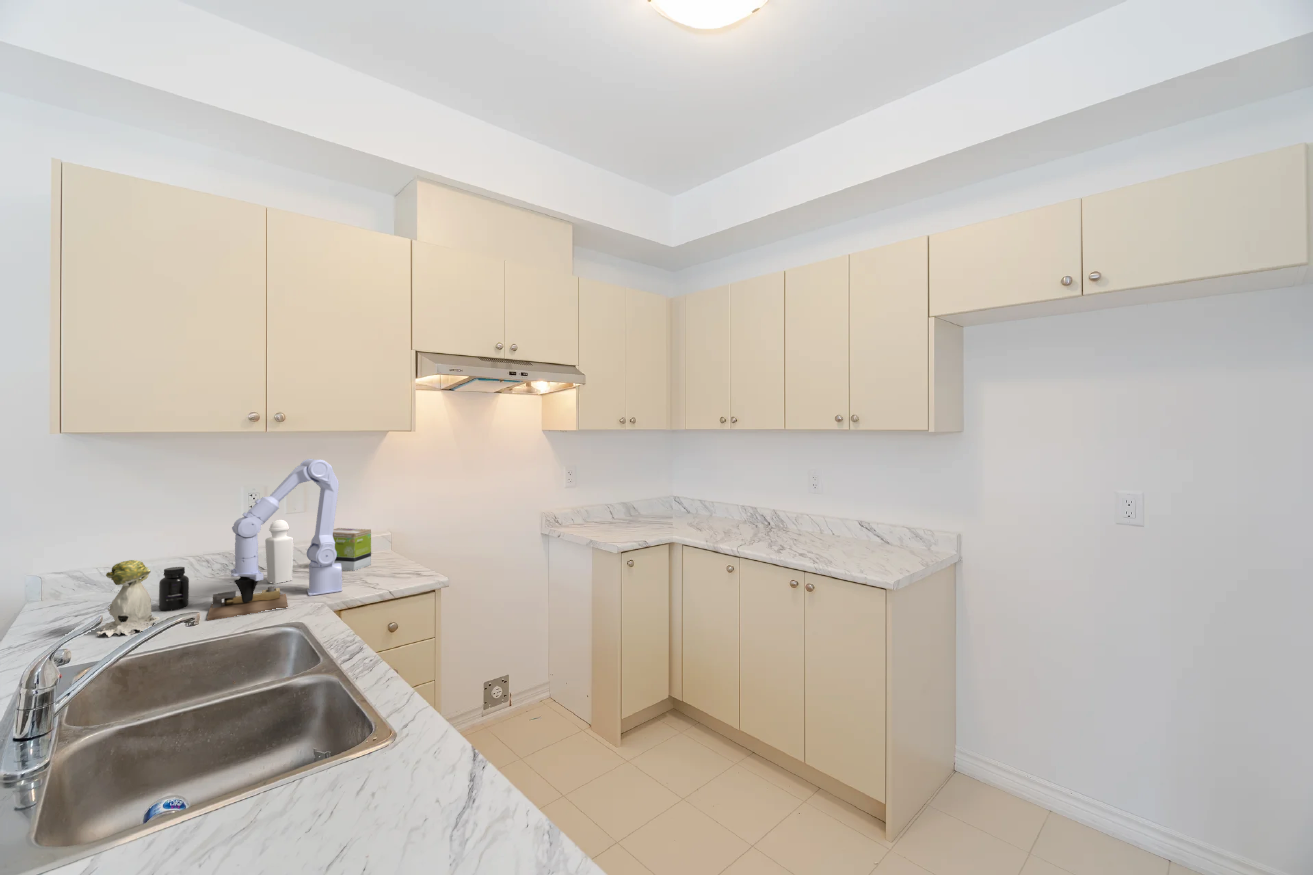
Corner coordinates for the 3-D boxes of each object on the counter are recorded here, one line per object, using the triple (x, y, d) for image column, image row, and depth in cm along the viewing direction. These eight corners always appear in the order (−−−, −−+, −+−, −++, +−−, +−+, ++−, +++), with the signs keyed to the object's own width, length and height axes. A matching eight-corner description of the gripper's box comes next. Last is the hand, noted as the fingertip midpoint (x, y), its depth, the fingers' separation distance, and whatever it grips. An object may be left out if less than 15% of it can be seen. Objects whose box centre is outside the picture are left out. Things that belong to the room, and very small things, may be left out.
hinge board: (285, 595, 182) (285, 582, 182) (288, 608, 169) (287, 593, 169) (211, 606, 171) (210, 592, 171) (207, 620, 158) (207, 605, 158)
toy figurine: (160, 618, 161) (160, 553, 161) (158, 630, 151) (157, 561, 151) (102, 627, 153) (101, 559, 153) (95, 640, 143) (94, 568, 143)
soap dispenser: (294, 580, 202) (293, 519, 201) (274, 584, 196) (273, 521, 196) (285, 578, 205) (284, 517, 205) (265, 582, 200) (264, 520, 199)
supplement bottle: (171, 612, 166) (171, 571, 166) (152, 610, 168) (152, 570, 168) (194, 605, 173) (194, 566, 173) (176, 603, 174) (176, 565, 174)
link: (280, 595, 180) (279, 587, 180) (279, 598, 176) (279, 590, 176) (224, 602, 172) (224, 594, 172) (223, 606, 168) (223, 598, 168)
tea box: (319, 569, 218) (319, 531, 218) (338, 563, 228) (338, 527, 228) (354, 571, 215) (354, 532, 215) (372, 565, 225) (371, 528, 225)
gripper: (219, 557, 172) (220, 601, 172) (244, 561, 165) (245, 608, 165) (245, 552, 178) (245, 595, 178) (270, 557, 171) (271, 601, 171)
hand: (247, 601), depth 172 cm, fingers closed, pressing on link
